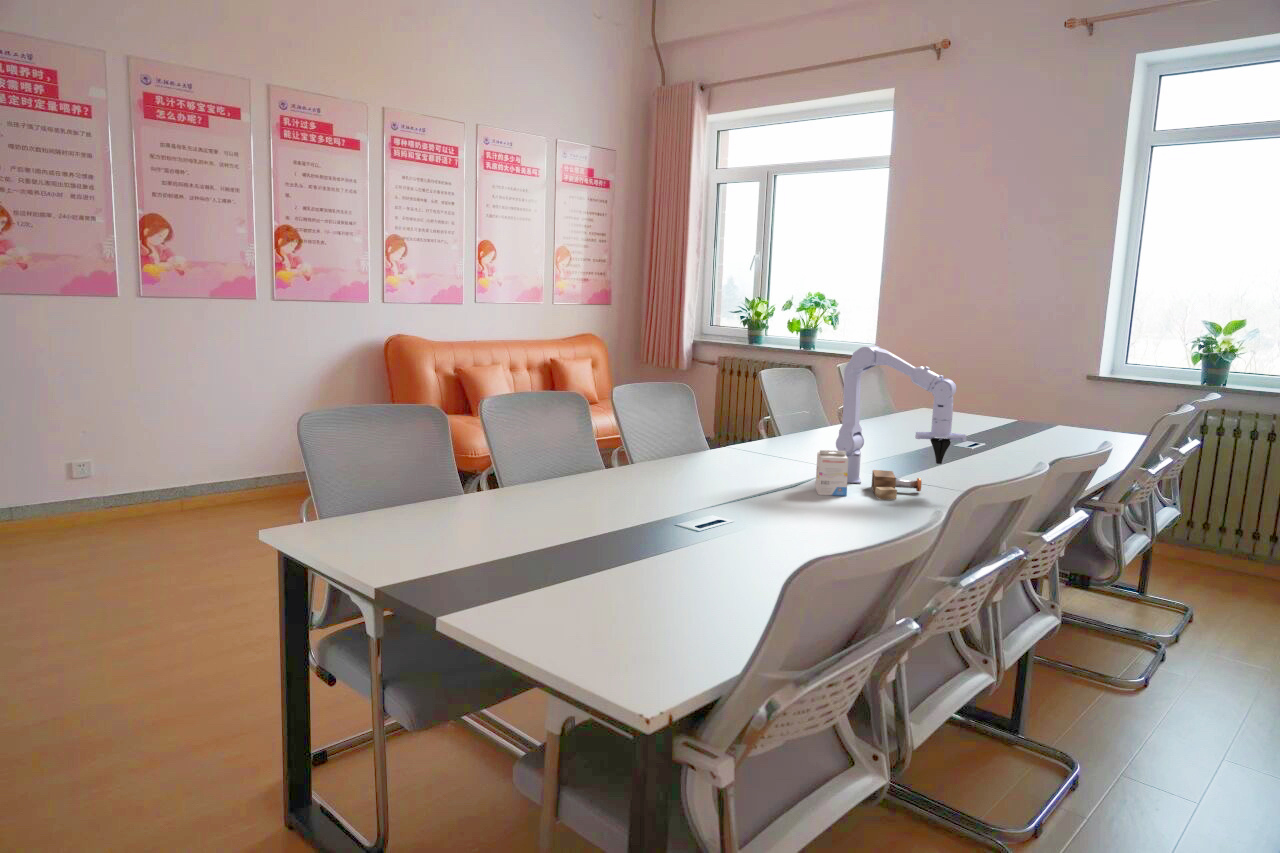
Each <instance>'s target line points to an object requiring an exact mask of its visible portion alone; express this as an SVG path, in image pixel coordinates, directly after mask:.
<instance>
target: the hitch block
mask: <svg viewBox="0 0 1280 853" xmlns="http://www.w3.org/2000/svg"><path fill="white" fill-rule="evenodd" d="M896 479H897V477H896V475H895V474H894V471H893V470H881V469H880V470H879V469H872V473H871V488H872V493H873V494H874V495H875V489H876V487H893V488H894V489H896V487H895V482H896Z"/></svg>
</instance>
